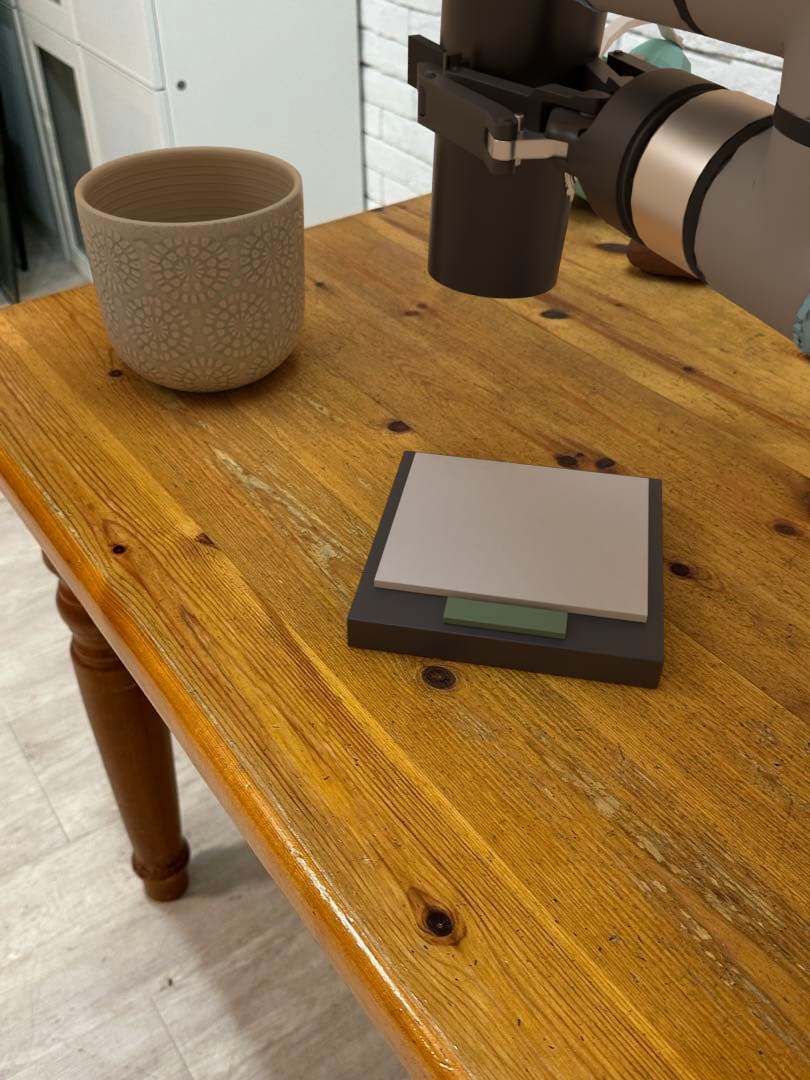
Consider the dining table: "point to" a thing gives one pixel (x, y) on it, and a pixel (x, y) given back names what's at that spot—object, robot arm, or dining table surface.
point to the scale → (517, 569)
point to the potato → (653, 261)
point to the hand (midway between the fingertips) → (461, 54)
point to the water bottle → (535, 189)
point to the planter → (197, 262)
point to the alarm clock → (645, 52)
